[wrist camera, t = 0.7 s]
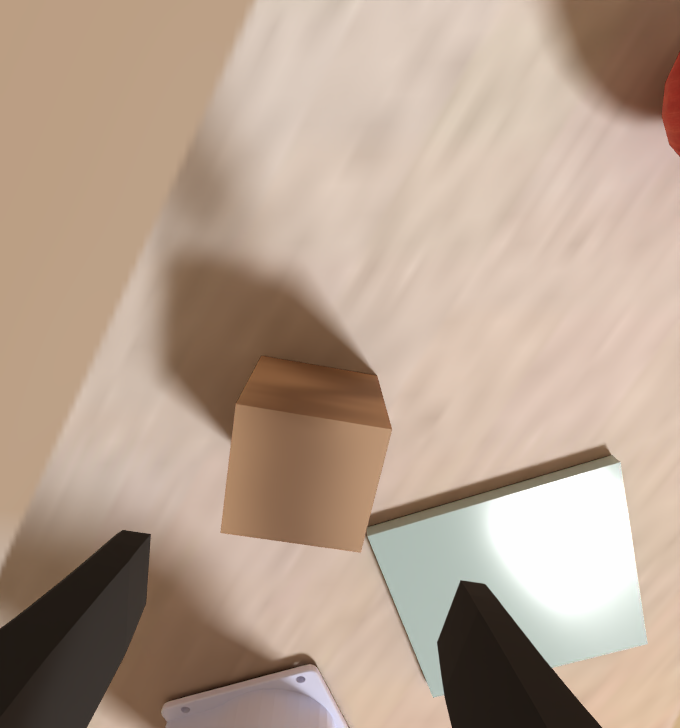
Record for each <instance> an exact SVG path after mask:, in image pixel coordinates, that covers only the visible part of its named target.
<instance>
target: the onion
mask: <svg viewBox="0 0 680 728" xmlns="http://www.w3.org/2000/svg"><path fill="white" fill-rule="evenodd" d="M662 119H663V123H664V126H665V130H666V134H667V137H668V141H669V145H670V146H671V147H672V148H673V149H674V151H675V152H676V153H677V154H678V155H679V156H680V52H679V54H678V56H677V58H676V61H675V63H674V65H673V67H672V69H671V71H670V74H669V76H668V78H667V80H666V82H665V89H664V98H663V108H662Z"/></svg>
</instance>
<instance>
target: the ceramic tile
mask: <svg viewBox="0 0 680 728" xmlns="http://www.w3.org/2000/svg"><path fill="white" fill-rule="evenodd" d="M367 537H368V539H369V541H370V544H371V546H372V549H373V551H374V554H375V556H376V559H377V561H378V563H379V566H380V568H381V571H382V573H383V576H384V578H385V581H386V583H387V586H388V588H389V590H390V593H391V595H392V598H393V600H394V603H395V605H396V608H397V610H398V613H399V615H400V617H401V620H402V622H403V625H404V627H405V630H406V632H407V635H408V637H409V640H410V642H411V644H412V647H413V649H414V652H415V654H416V657H417V659H418V662H419V664H420V667H421V669H422V671H423V674H424V676H425V679H426V681H427V684H428V686H429V689H430V691H431V694H432V696H433V698H434V697H438V696H442V695H444V690H443V684H442V677H441V671H440V663H439V655H438V647H437V641H438V638H439V636H440V633H441V630H442V628H443V625H444V622H445V620H446V617H447V615H448V612H449V609H450V607H451V604H452V601H453V599H454V596H455V593H456V591H457V588H458V585H459V583H460V580H463V581H470V582H477V583H483V584H486V585H487V587H488V588H489V589H490V590H491V591H492V593H493V594H494V595H495V596H496V598H497V599H498V600H499V602H500V603H501V604H502V605H503V607H504V608H505V609H506V611H507V612H508V613H509V614H510V616H511V617H512V618H513V620H514V621H515V622H516V623H517V625H518V626H519V627H520V629H521V630H522V631H523V632H524V634H525V635H526V636H527V638H528V639H529V640H530V641H531V643H532V644H533V645H534V646H535V648H536V649H537V650H538V652H539V653H540V654H541V655H542V657H543V658H544V659H545V660H546V662H547V663H548V664H549V665H550V667H551V668H554V667H558V666H562V665H566V664H570V663H574V662H578V661H582V660H586V659H590V658H594V657H598V656H602V655H606V654H610V653H614V652H617V651H621V650H625V649H629V648H633V647H637V646H641V645H645V644H648V643H647V636H646V630H645V623H644V616H643V610H642V603H641V596H640V590H639V583H638V577H637V570H636V563H635V557H634V550H633V543H632V537H631V530H630V523H629V517H628V510H627V503H626V497H625V490H624V483H623V477H622V470H621V463H620V462H619V461H618V460H617V459H616V458H615V457H614V456H612V455H611V456H607V457H604V458H601V459H597V460H594V461H590V462H587V463H584V464H580V465H577V466H574V467H570V468H567V469H563V470H560V471H557V472H553V473H550V474H546V475H543V476H540V477H536V478H533V479H530V480H526V481H523V482H519V483H516V484H513V485H509V486H506V487H502V488H499V489H496V490H492V491H489V492H486V493H482V494H479V495H475V496H472V497H469V498H465V499H462V500H458V501H455V502H452V503H448V504H445V505H441V506H438V507H435V508H431V509H428V510H425V511H421V512H418V513H414V514H411V515H408V516H404V517H401V518H397V519H394V520H391V521H387V522H384V523H381V524H377V525H374V526H370V527H367Z"/></svg>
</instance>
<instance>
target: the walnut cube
mask: <svg viewBox="0 0 680 728" xmlns="http://www.w3.org/2000/svg"><path fill="white" fill-rule="evenodd" d="M391 431H392V428H391V424H390V420H389V417H388V413H387V410H386V406H385V402H384V399H383V395H382V392H381V388H380V384H379V381H378V377H377V375H371V374H365V373H360V372H354V371H348V370H342V369H336V368H331V367H325V366H319V365H313V364H307V363H302V362H296V361H290V360H284V359H278V358H273V357H267V356H261V357H260V359H259V361H258V363H257V365H256V367H255V369H254V370H253V372H252V374H251V376H250V378H249V380H248V382H247V384H246V386H245V387H244V389H243V391H242V393H241V395H240V397H239V399H238V401H237V402H236V406H235V414H234V423H233V431H232V439H231V448H230V456H229V465H228V473H227V482H226V490H225V499H224V507H223V516H222V524H221V533H225V534H233V535H240V536H247V537H254V538H261V539H268V540H275V541H282V542H289V543H297V544H304V545H311V546H318V547H325V548H332V549H339V550H346V551H353V552H361V549H362V545H363V541H364V537H365V534H366V530H367V526H368V522H369V518H370V514H371V510H372V506H373V502H374V498H375V494H376V490H377V486H378V483H379V479H380V475H381V471H382V467H383V463H384V459H385V455H386V451H387V447H388V443H389V439H390V435H391Z"/></svg>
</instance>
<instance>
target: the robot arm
mask: <svg viewBox="0 0 680 728" xmlns="http://www.w3.org/2000/svg"><path fill="white" fill-rule="evenodd" d="M150 537H151V534H146V533H139V532H132V531H126V530H122V531H121V532H119V533H118V534H116V535H115V536H114V537H113V538H112V539H111V540H109V541H108V542H107V543H106V544H105V545H104V546H102V547H101V548H100V549H99V550H98V551H97V552H95V553H94V554H93V555H92V556H91V557H90V558H88V559H87V560H86V561H85V562H84V563H82V564H81V565H80V566H79V567H78V568H76V569H75V570H74V571H73V572H72V573H70V574H69V575H68V576H67V577H66V578H64V579H63V580H62V581H61V582H60V583H58V584H57V585H56V586H55V587H53V588H52V589H51V590H49V591H48V592H47V593H46V594H44V595H43V596H42V597H41V598H39V599H38V600H37V601H36V602H34V603H33V604H32V605H31V606H29V607H28V608H27V609H26V610H24V611H23V612H22V613H20V614H19V615H18V616H17V617H15V618H14V619H13V620H11V621H10V622H9V623H7V624H6V625H4V626H3V627H2V628H0V728H87V726H88V724H89V722H90V721H91V719H92V717H93V715H94V713H95V711H96V709H97V707H98V705H99V704H100V702H101V700H102V698H103V696H104V694H105V692H106V690H107V688H108V686H109V684H110V683H111V681H112V679H113V677H114V675H115V673H116V671H117V669H118V667H119V665H120V663H121V661H122V659H123V657H124V655H125V653H126V651H127V649H128V646H129V644H130V642H131V639H132V637H133V634H134V632H135V630H136V627H137V624H138V622H139V619H140V617H141V614H142V612H143V609H144V607H145V604H146V596H147V581H148V567H149V552H150ZM437 647H438V655H439V663H440V671H441V677H442V684H443V690H444V696H445V700H446V705H447V709H448V713H449V717H450V721H451V725H452V728H602V727H601V726H600V725H599V723H598V722H597V721H596V720H595V719H594V718H593V717H592V715H591V714H590V713H589V712H588V711H587V710H586V709H585V707H584V706H583V705H582V704H581V703H580V702H579V700H578V699H577V698H576V697H575V696H574V694H573V693H572V692H571V691H570V690H569V688H568V687H567V686H566V685H565V684H564V682H563V681H562V680H561V679H560V678H559V676H558V675H557V674H556V673H555V671H554V670H553V669H552V668H551V667H550V665H549V664H548V663H547V662H546V660H545V659H544V658H543V657H542V655H541V654H540V653H539V652H538V650H537V649H536V648H535V646H534V645H533V644H532V643H531V641H530V640H529V639H528V638H527V636H526V635H525V634H524V632H523V631H522V630H521V629H520V627H519V626H518V625H517V623H516V622H515V621H514V620H513V618H512V617H511V616H510V614H509V613H508V612H507V611H506V609H505V608H504V607H503V605H502V604H501V603H500V602H499V600H498V599H497V598H496V596H495V595H494V594H493V593H492V591H491V590H490V589H489V588H488V587H487V585H486V584H483V583H477V582H470V581H463V580H460V583H459V585H458V588H457V591H456V593H455V596H454V599H453V601H452V604H451V607H450V609H449V612H448V615H447V617H446V620H445V622H444V625H443V628H442V630H441V633H440V636H439V638H438V641H437ZM161 714H162V716H163V717H164V719H165V720H166V722H167V723H166V726H165V728H349V727H348V725H347V723H346V721H345V720H344V718H343V716H342V714H341V712H340V710H339V708H338V706H337V704H336V702H335V700H334V699H333V697H332V695H331V693H330V691H329V689H328V687H327V685H326V683H325V681H324V679H323V678H322V676H321V674H320V672H319V670H318V668H317V667H316V666H314V665H311V664H308V665H303V666H300V667H296V668H292V669H288V670H285V671H281V672H277V673H273V674H270V675H266V676H262V677H258V678H255V679H251V680H247V681H243V682H240V683H236V684H232V685H228V686H225V687H221V688H217V689H213V690H210V691H206V692H202V693H198V694H195V695H191V696H187V697H183V698H180V699H176V700H172V701H168V702H166V703H165V704H164V705H163V708H162V710H161Z"/></svg>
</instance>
